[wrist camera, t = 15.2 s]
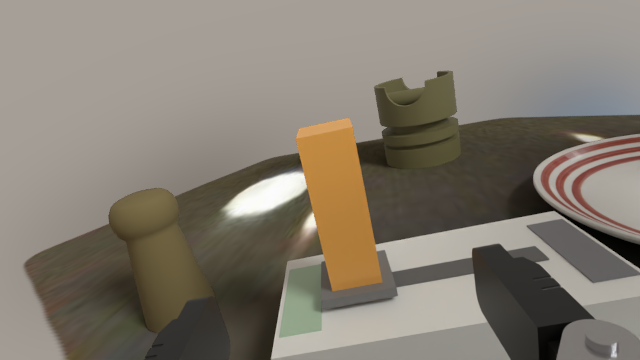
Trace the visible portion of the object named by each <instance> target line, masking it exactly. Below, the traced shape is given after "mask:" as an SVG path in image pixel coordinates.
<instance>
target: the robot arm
mask: <svg viewBox="0 0 640 360" xmlns="http://www.w3.org/2000/svg"><path fill="white" fill-rule="evenodd" d="M472 261H473V270H474V279H475V288H476V295H477V300H478V303H479V306H480V309H481V311H482V313H483V315H484V317H485V318H486V320H487V321H488V323H489V325H490V326H491V328H492V330H493V331H494V333H495V335H496V336H497V338H498V339H499V341H500V343H501V344H502V346H503V348H504V349H505V351H506V352H507V354H508V356H509V357H510V359H511V360H640V339H639V338H638V337H637V336H636V335H634V334H633V333H632V332H630V331H629V330H627V329H625V328H624V327H621V326H619V325H617V324H614V323H611V322H607V321H603V320H596V319H595V318H594V317H593V316H592V315H591V314H590V313H589V312H588V311H587V310H586V309H585V308H584V307H582V306H581V305H580V304H579V303H578V302H577V301H576V300H575V299H574V298H573V297H572V296H571V295H570V294H569V293H568V292H567V291H566V290H565V289H564V288H563V287H561V286H560V284H559V283H558V282H557V281H556V280H555V279H554V278H551V275H550V274H549V273H548V272H547V271H546V270H545V269H544V268H543V267H542V266H541V265H539V264H537V263H535V262H533V261H531V260H529V259H527V258H525V257H517V258H513V257H512V256H511V255H510V254H509V253H508V252H507V251H506V250H505V249H504V247H503V246H502V245H501V244H492V245H487V246H482V247H476V248H473V249H472ZM229 356H230V340H229V336H228V333H227V330H226V327H225V324H224V321H223V318H222V316H221V313H220V310H219V307H218V304H217V302H216V300H215V298H214V297H213V296H209V297H203V298H198V299H193V300H188V301H187V302H186V304H185V306H184V307H183V309H182V311H181V313H180V315H179V316H178V318H177V319H174V320H172V321H171V322H170V323H169V324H168V325H167V326H166V327H165V328H164V329H163V330H162V331H161V332H160V333H159V334H158V336H157V338H156V339H155V341H154V343H153V345H152V348H150V350H149V351H148V353H147V355H146V356H145V360H229Z"/></svg>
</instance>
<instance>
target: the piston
mask: <svg viewBox="0 0 640 360" xmlns="http://www.w3.org/2000/svg"><path fill="white" fill-rule="evenodd" d="M374 89H375V95H376V101H377V107H378V112H379V119H380V124H381V125H382V126H385V127H387V128H386V129H384V130H383V131H382V136H383V142H384V143H385V144H384V148H385V154H386V160H387V164H388V165H389V166H391V167H394V168H399V169H419V168H427V167H433V166H437V165H441V164H444V163H447V162H450V161H452V160H454V159H456V158H458V157H459V156H460V155H461V145H460V136H459V133H458V131H459V126H458V119H456V118H454V117H450V116H452V115H454V114H455V113H456V112H457V109H456V99H455V89H454V80H453V72H452V71H438V72H437V78H434V79H430V80H426V81H425V87H423V88H416V89H409V88H407V87H406V86H405V84H404V82H403V80H402V78H399V79H395V80H391V81H388V82H384V83H381V84H378V85H376V86H375V87H374Z"/></svg>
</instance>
